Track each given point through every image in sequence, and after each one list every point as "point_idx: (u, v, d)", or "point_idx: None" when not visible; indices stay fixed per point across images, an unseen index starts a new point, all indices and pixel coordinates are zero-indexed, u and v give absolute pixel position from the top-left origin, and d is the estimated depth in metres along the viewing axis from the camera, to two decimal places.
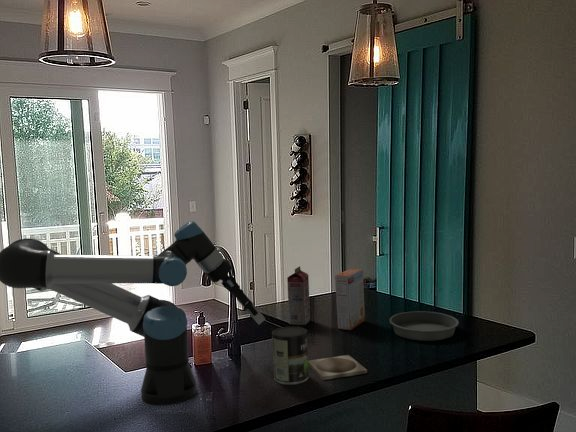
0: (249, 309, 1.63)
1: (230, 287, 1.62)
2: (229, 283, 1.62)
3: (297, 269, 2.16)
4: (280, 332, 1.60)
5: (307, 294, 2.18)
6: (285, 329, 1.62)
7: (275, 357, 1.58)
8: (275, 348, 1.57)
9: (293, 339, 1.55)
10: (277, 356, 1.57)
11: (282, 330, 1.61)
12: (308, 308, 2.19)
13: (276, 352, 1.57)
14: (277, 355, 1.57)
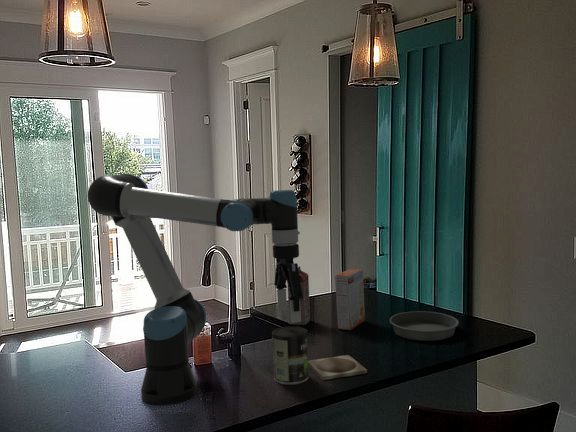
0: (294, 302, 1.51)
1: (291, 270, 1.51)
2: (292, 266, 1.51)
3: None
4: (280, 332, 1.60)
5: (307, 294, 2.18)
6: (285, 329, 1.62)
7: (275, 357, 1.58)
8: (275, 348, 1.57)
9: (293, 339, 1.55)
10: (277, 356, 1.57)
11: (282, 330, 1.61)
12: (308, 308, 2.19)
13: (276, 352, 1.57)
14: (277, 355, 1.57)
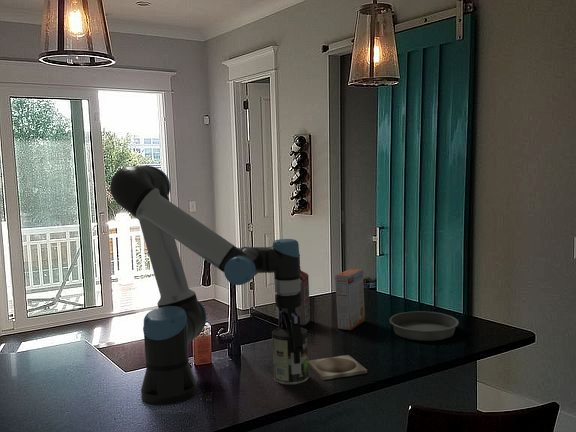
0: (295, 354, 1.53)
1: (293, 323, 1.53)
2: (295, 319, 1.53)
3: None
4: (280, 332, 1.60)
5: (307, 294, 2.18)
6: (285, 329, 1.62)
7: (275, 357, 1.58)
8: (275, 348, 1.57)
9: None
10: (277, 356, 1.57)
11: (282, 330, 1.61)
12: (308, 308, 2.19)
13: (276, 352, 1.57)
14: (277, 355, 1.57)
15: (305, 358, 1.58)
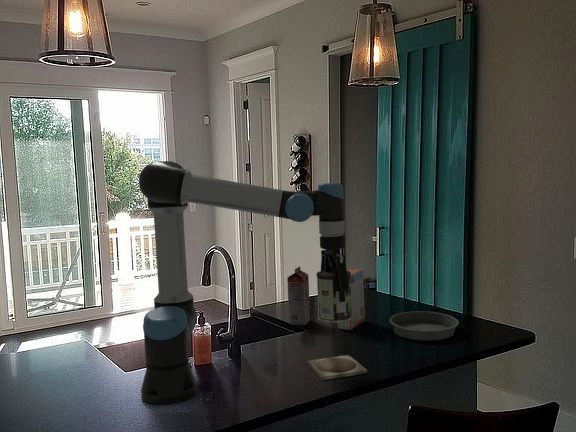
0: (340, 293, 1.58)
1: (339, 262, 1.57)
2: (340, 258, 1.57)
3: (297, 269, 2.16)
4: (324, 273, 1.64)
5: (307, 294, 2.18)
6: (329, 271, 1.67)
7: (320, 297, 1.63)
8: (320, 288, 1.62)
9: None
10: (322, 296, 1.62)
11: (326, 272, 1.66)
12: (308, 308, 2.19)
13: (321, 292, 1.62)
14: (322, 295, 1.62)
15: (349, 298, 1.63)
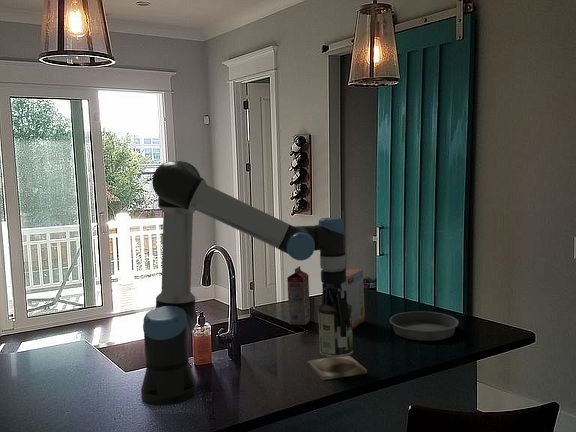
0: (342, 328, 1.59)
1: (340, 297, 1.58)
2: (341, 294, 1.58)
3: (297, 269, 2.16)
4: (325, 307, 1.65)
5: (307, 294, 2.18)
6: (330, 304, 1.68)
7: (321, 331, 1.63)
8: (321, 322, 1.63)
9: None
10: (323, 330, 1.63)
11: (327, 306, 1.67)
12: (308, 308, 2.19)
13: (322, 326, 1.63)
14: (323, 329, 1.63)
15: (350, 332, 1.63)
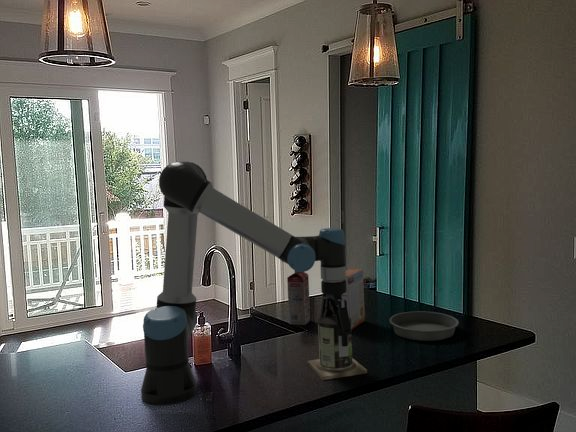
0: (343, 337, 1.58)
1: (340, 307, 1.58)
2: (342, 303, 1.58)
3: None
4: (325, 320, 1.66)
5: (307, 294, 2.18)
6: (330, 317, 1.69)
7: (321, 344, 1.64)
8: (321, 335, 1.64)
9: None
10: (323, 343, 1.63)
11: (327, 319, 1.67)
12: (308, 308, 2.19)
13: (322, 339, 1.63)
14: (323, 342, 1.63)
15: (350, 345, 1.64)
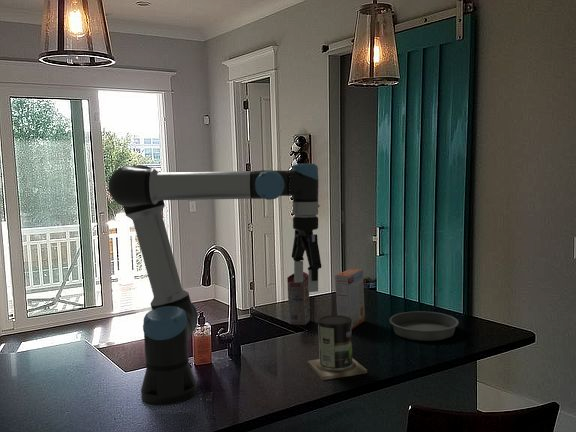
0: (313, 271, 1.55)
1: (311, 241, 1.56)
2: (312, 237, 1.56)
3: None
4: (325, 320, 1.66)
5: (307, 294, 2.18)
6: (330, 317, 1.68)
7: (321, 344, 1.64)
8: (321, 335, 1.64)
9: (339, 327, 1.61)
10: (323, 343, 1.63)
11: (327, 319, 1.67)
12: (308, 308, 2.19)
13: (322, 339, 1.63)
14: (323, 342, 1.63)
15: (350, 345, 1.64)
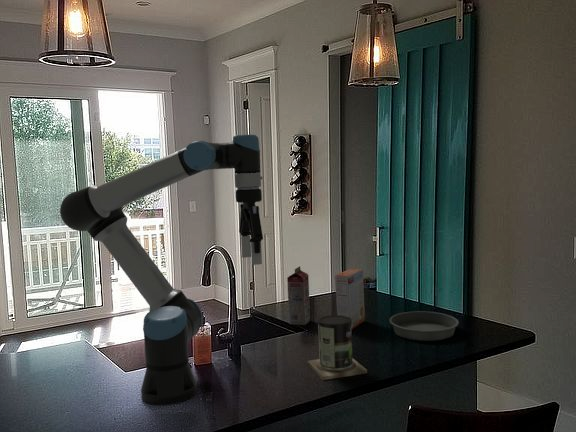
0: (255, 243, 1.52)
1: (252, 212, 1.53)
2: (253, 208, 1.53)
3: (297, 269, 2.16)
4: (325, 320, 1.66)
5: (307, 294, 2.18)
6: (330, 317, 1.69)
7: (321, 344, 1.64)
8: (321, 335, 1.64)
9: (339, 327, 1.61)
10: (323, 343, 1.63)
11: (327, 319, 1.67)
12: (308, 308, 2.19)
13: (322, 339, 1.63)
14: (323, 342, 1.63)
15: (350, 345, 1.64)
